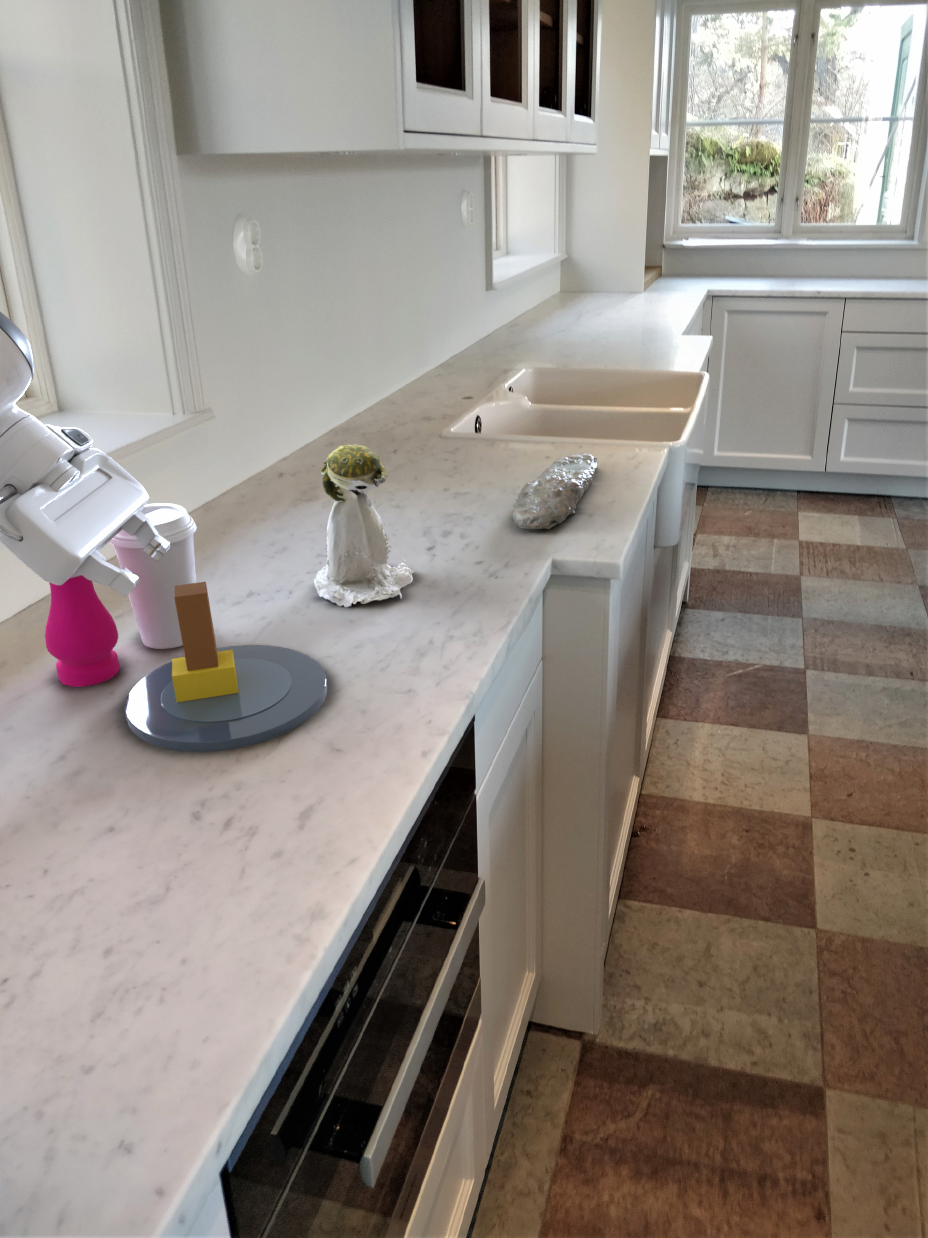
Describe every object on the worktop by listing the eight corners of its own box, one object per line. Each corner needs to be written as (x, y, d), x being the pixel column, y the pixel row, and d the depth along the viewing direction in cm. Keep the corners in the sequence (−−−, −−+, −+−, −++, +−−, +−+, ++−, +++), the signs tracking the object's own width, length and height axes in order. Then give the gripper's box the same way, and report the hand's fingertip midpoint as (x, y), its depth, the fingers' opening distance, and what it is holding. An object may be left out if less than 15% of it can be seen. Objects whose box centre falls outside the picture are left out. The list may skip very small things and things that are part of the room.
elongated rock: (610, 476, 166) (554, 476, 169) (610, 446, 164) (553, 446, 168) (567, 534, 136) (499, 533, 139) (565, 498, 134) (497, 497, 137)
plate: (155, 777, 85) (153, 765, 85) (107, 686, 101) (104, 675, 101) (359, 712, 94) (358, 701, 94) (285, 638, 110) (284, 628, 110)
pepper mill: (94, 652, 108) (59, 481, 100) (138, 667, 105) (107, 492, 96) (39, 679, 103) (-2, 501, 94) (84, 696, 99) (46, 513, 91)
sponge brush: (176, 702, 95) (157, 601, 90) (176, 684, 98) (158, 585, 94) (238, 693, 96) (222, 592, 91) (236, 675, 100) (221, 577, 95)
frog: (300, 605, 118) (282, 460, 110) (334, 565, 130) (320, 432, 122) (393, 610, 116) (382, 462, 108) (419, 569, 127) (411, 433, 119)
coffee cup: (191, 612, 118) (171, 495, 111) (227, 637, 111) (208, 514, 104) (115, 636, 112) (90, 514, 106) (148, 664, 105) (123, 536, 99)
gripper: (-8, 479, 77) (132, 589, 81) (87, 424, 96) (198, 515, 100) (-49, 533, 79) (90, 638, 83) (53, 469, 98) (162, 556, 102)
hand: (150, 570), depth 92 cm, fingers open, 8 cm apart
